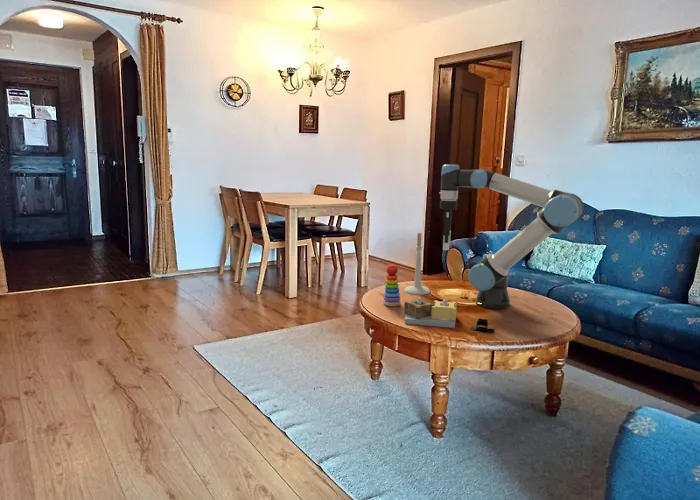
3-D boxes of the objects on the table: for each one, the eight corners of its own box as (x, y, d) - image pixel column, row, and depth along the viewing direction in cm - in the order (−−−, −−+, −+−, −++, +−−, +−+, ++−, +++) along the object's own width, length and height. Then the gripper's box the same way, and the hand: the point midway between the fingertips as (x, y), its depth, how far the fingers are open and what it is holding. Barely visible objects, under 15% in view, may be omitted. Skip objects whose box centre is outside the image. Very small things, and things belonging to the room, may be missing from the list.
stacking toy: (400, 302, 233) (401, 262, 229) (400, 307, 225) (401, 266, 221) (383, 301, 233) (384, 262, 230) (383, 306, 226) (384, 266, 222)
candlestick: (410, 286, 259) (412, 229, 253) (433, 290, 253) (436, 231, 247) (400, 292, 249) (402, 232, 243) (424, 296, 242) (427, 235, 236)
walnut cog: (420, 309, 216) (421, 298, 215) (435, 315, 208) (436, 304, 207) (402, 313, 211) (402, 301, 210) (417, 319, 203) (417, 308, 202)
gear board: (455, 316, 213) (457, 295, 211) (454, 327, 200) (455, 305, 198) (408, 312, 217) (409, 291, 216) (404, 323, 204) (405, 301, 202)
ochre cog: (456, 313, 211) (457, 301, 210) (455, 320, 201) (456, 309, 200) (432, 311, 213) (433, 300, 212) (431, 318, 203) (431, 307, 202)
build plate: (464, 331, 197) (465, 320, 196) (467, 325, 204) (468, 315, 203) (497, 336, 193) (497, 324, 192) (499, 330, 199) (500, 319, 198)
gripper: (441, 197, 234) (439, 241, 238) (438, 202, 210) (436, 252, 214) (458, 197, 232) (455, 242, 236) (456, 203, 208) (454, 253, 212)
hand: (446, 247), depth 225 cm, fingers open, 13 cm apart
